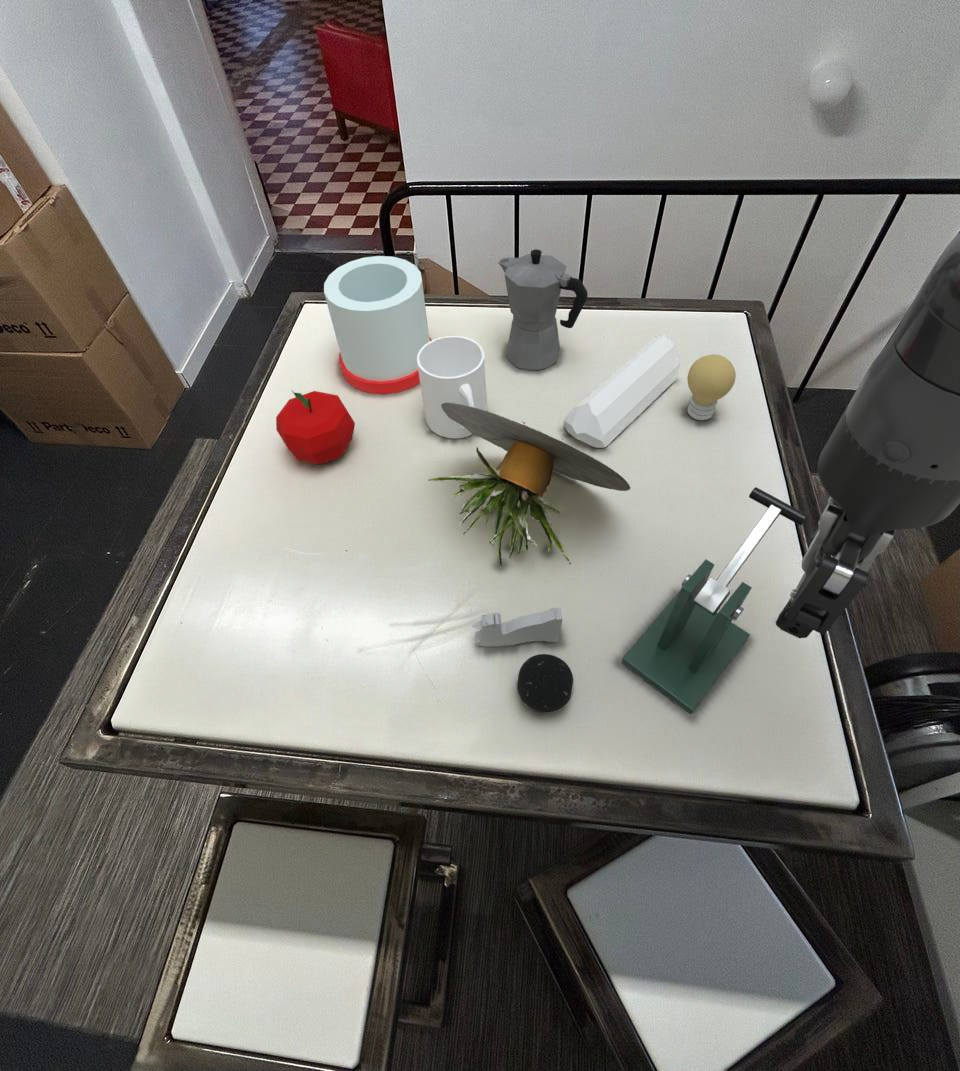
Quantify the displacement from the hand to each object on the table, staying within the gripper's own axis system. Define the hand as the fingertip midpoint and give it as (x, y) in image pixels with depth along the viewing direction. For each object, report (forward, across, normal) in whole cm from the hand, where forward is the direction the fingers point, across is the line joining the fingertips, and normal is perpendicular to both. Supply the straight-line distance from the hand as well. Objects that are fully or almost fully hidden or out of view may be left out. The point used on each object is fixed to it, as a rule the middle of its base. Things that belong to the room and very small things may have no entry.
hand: (808, 586), depth 46 cm
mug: (+25, +22, +49) cm, 59 cm away
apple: (+24, +7, +64) cm, 69 cm away
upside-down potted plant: (+25, +11, +32) cm, 42 cm away
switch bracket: (+25, +4, +6) cm, 26 cm away
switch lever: (+11, +9, +5) cm, 16 cm away
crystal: (+25, +38, +30) cm, 55 cm away
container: (+24, +28, +68) cm, 77 cm away
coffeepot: (+24, +42, +47) cm, 68 cm away
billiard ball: (+25, -9, +17) cm, 31 cm away
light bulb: (+25, +42, +19) cm, 53 cm away
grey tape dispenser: (+25, -5, +23) cm, 34 cm away
